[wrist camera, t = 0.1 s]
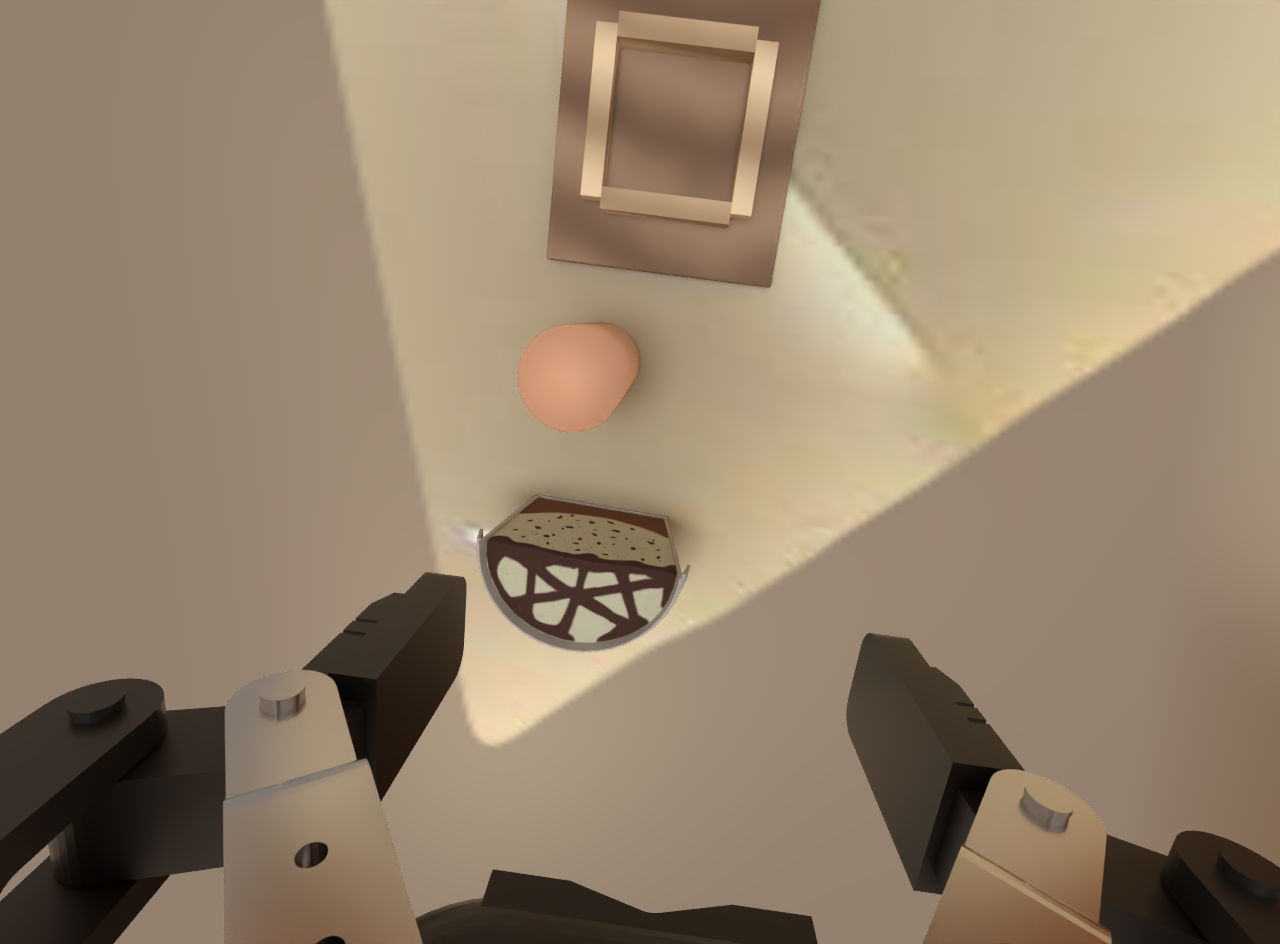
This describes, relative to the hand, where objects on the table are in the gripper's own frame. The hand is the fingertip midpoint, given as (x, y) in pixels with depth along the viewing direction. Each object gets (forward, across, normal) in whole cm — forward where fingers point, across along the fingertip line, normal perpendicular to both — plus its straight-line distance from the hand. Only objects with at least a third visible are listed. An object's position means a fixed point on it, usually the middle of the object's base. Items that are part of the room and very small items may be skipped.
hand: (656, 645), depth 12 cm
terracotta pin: (+29, +5, -3) cm, 30 cm away
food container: (+29, +4, +10) cm, 31 cm away
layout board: (+29, +2, -17) cm, 34 cm away
